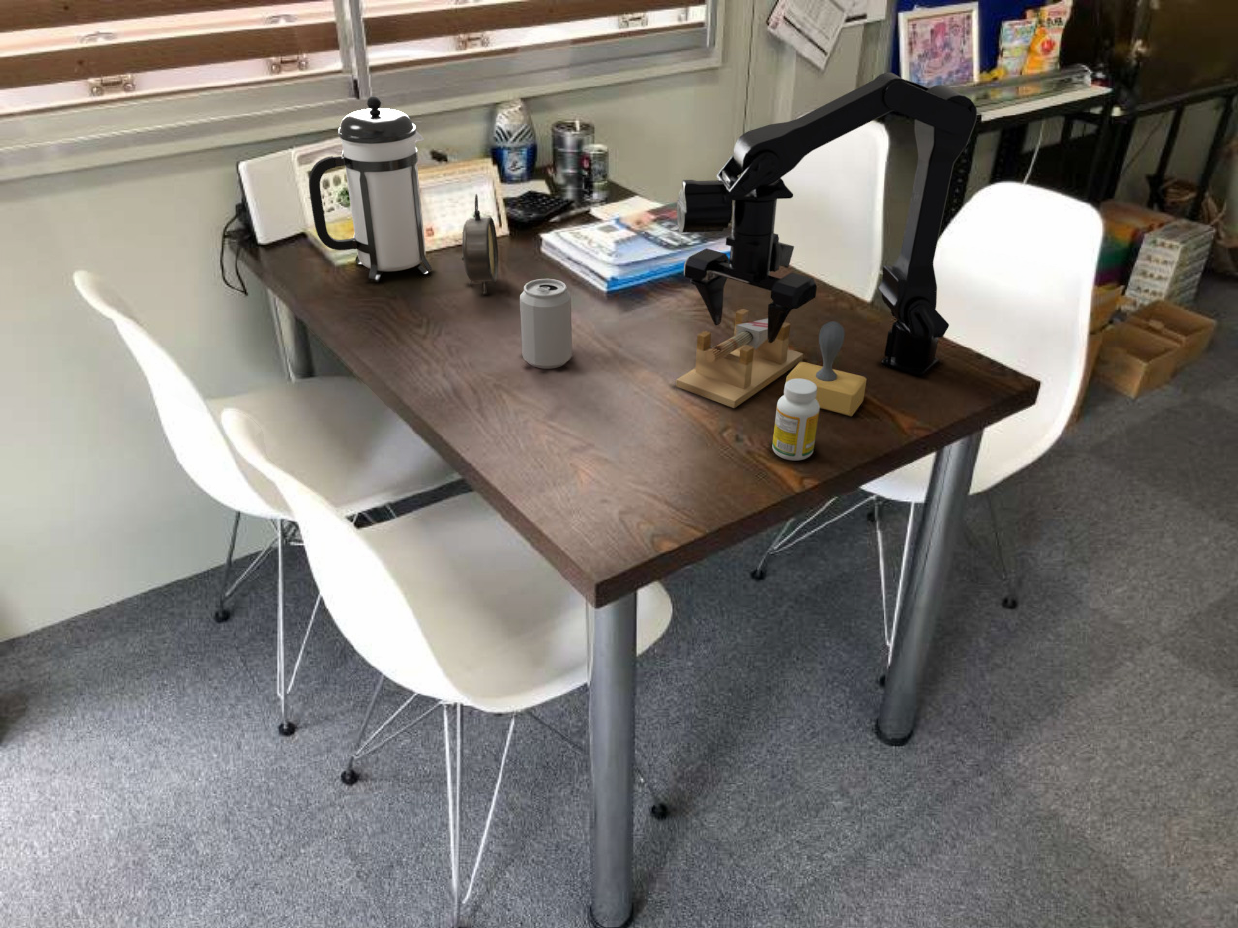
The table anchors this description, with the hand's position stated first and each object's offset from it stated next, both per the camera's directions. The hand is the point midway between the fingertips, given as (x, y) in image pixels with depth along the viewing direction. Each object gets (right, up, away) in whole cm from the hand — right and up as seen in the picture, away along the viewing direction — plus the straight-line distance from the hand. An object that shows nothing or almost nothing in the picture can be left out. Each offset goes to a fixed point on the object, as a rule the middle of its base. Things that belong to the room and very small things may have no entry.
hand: (744, 333), depth 146 cm
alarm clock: (-42, +12, +31) cm, 53 cm away
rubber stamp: (+11, -10, -3) cm, 15 cm away
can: (-29, -3, +7) cm, 30 cm away
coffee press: (-60, +16, +36) cm, 72 cm away
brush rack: (0, -6, +4) cm, 6 cm away
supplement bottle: (+5, -17, -14) cm, 23 cm away
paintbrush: (0, -2, +1) cm, 2 cm away
